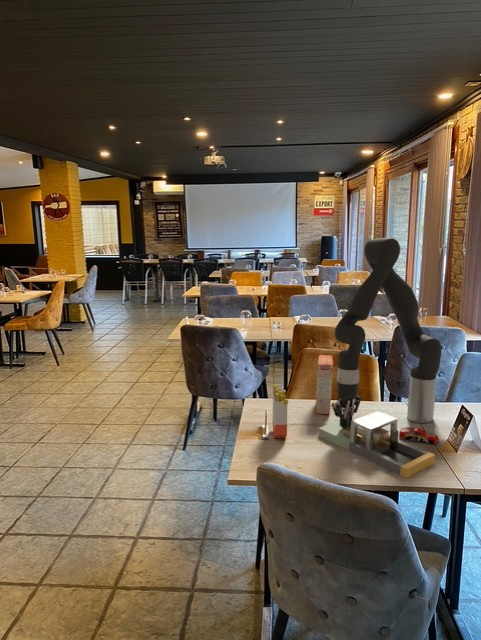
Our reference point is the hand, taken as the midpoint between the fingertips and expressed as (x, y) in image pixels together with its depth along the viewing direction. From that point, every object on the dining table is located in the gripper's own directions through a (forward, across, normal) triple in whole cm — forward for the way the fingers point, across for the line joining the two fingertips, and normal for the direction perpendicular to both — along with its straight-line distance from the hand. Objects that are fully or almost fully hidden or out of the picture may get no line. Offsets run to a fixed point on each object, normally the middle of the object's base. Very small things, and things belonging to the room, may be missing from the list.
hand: (345, 426), depth 171 cm
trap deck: (+4, 0, +12) cm, 13 cm away
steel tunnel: (+1, 0, +12) cm, 12 cm away
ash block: (+1, 0, +11) cm, 11 cm away
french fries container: (+4, +18, -15) cm, 24 cm away
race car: (+4, -19, +17) cm, 26 cm away
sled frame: (+1, 0, +10) cm, 10 cm away
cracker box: (+4, -13, -23) cm, 27 cm away
